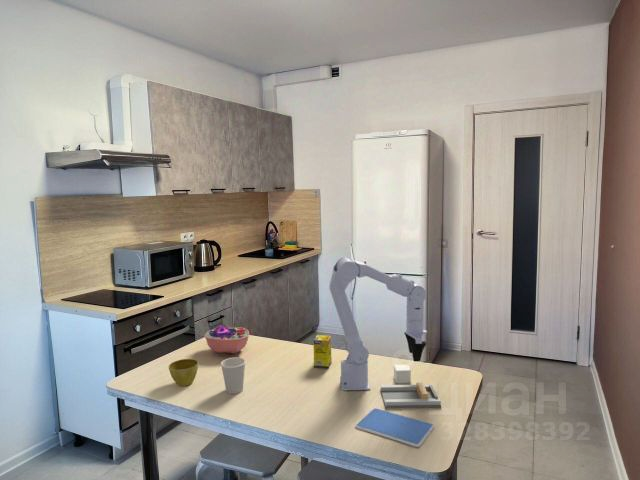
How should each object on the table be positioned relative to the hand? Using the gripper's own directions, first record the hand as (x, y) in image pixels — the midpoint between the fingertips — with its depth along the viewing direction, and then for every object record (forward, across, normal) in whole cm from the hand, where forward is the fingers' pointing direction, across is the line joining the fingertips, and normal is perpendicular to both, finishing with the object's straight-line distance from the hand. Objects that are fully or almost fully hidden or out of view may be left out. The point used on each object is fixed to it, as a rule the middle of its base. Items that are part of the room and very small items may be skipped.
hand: (414, 356), depth 154 cm
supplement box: (+9, +15, +32) cm, 37 cm away
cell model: (+10, +31, +72) cm, 79 cm away
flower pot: (+10, +1, +81) cm, 82 cm away
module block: (+9, +1, +4) cm, 10 cm away
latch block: (+9, -12, 0) cm, 15 cm away
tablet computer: (+10, -30, +11) cm, 33 cm away
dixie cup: (+10, -5, +62) cm, 63 cm away
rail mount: (+9, -12, +4) cm, 16 cm away
